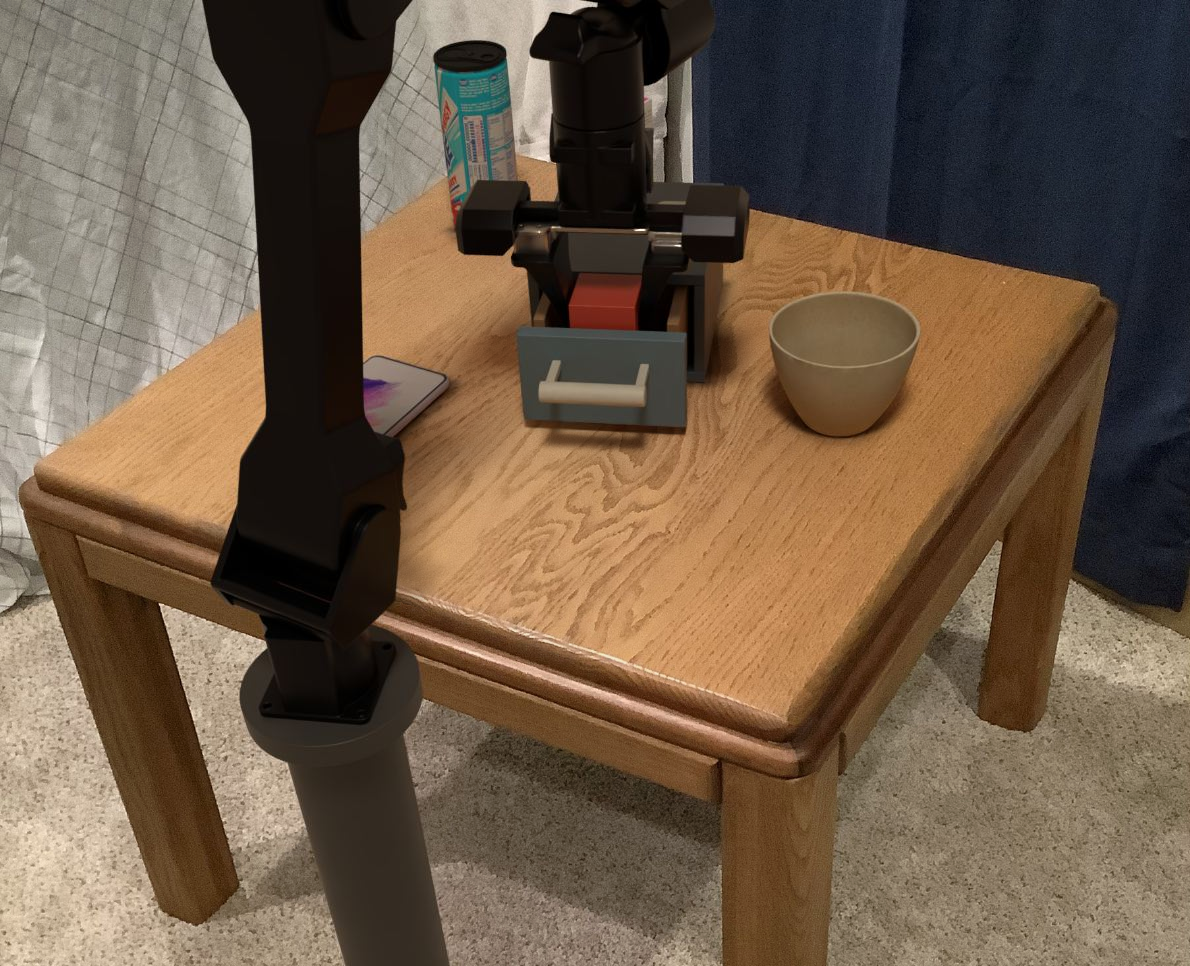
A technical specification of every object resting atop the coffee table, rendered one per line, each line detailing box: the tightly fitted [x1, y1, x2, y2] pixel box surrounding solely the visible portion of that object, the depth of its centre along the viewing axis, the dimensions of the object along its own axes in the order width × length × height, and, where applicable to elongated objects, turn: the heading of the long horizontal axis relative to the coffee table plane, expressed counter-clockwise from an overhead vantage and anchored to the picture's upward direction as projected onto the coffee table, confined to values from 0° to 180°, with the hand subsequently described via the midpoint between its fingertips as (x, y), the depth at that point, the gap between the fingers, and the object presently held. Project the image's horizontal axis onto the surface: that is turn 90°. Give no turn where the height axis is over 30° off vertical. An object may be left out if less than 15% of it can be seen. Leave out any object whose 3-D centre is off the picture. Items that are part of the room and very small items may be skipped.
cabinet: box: [526, 181, 725, 383], centre depth 107 cm, size 15×13×9 cm
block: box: [569, 273, 642, 331], centre depth 98 cm, size 4×4×4 cm
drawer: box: [515, 281, 694, 428], centre depth 100 cm, size 18×11×7 cm, turn 171°
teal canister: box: [432, 39, 519, 227], centre depth 119 cm, size 6×6×15 cm
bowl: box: [768, 290, 921, 437], centre depth 98 cm, size 10×10×7 cm
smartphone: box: [363, 354, 451, 438], centre depth 102 cm, size 7×1×15 cm
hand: (609, 335), depth 99 cm, fingers closed on block, 4 cm apart
